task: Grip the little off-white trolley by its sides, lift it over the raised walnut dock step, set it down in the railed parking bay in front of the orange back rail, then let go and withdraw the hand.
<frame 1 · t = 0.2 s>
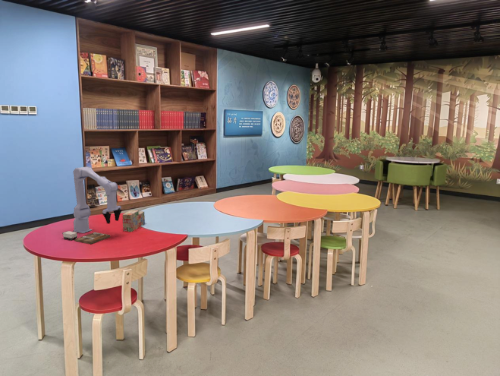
hand: (112, 222, 245), 10 cm above the table, tool pointing down, fingers open, 7 cm apart
dock: (93, 239, 241), on the table
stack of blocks: (134, 227, 269), on the table
trolley: (70, 238, 241), on the table
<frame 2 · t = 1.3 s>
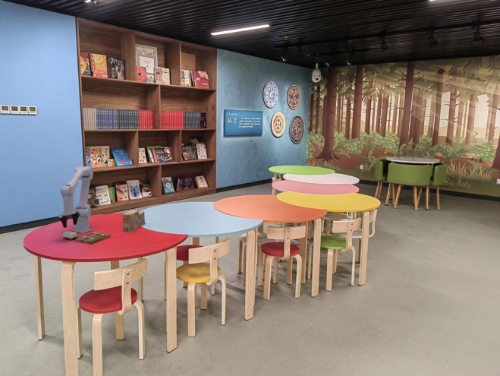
hand: (70, 226, 240), 8 cm above the table, tool pointing down, fingers open, 7 cm apart
nothing on the table moved.
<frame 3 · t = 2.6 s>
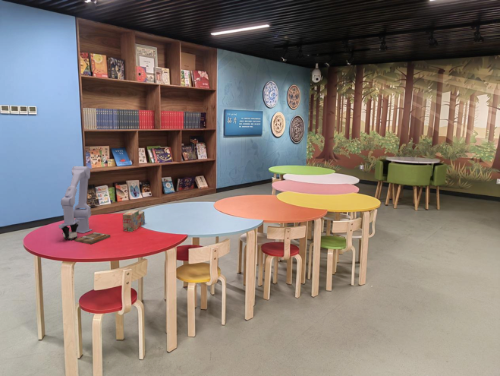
hand: (70, 236, 241), 2 cm above the table, tool pointing down, fingers closed on trolley, 4 cm apart
trolley: (70, 238, 241), on the table, touching gripper
everything else where it was.
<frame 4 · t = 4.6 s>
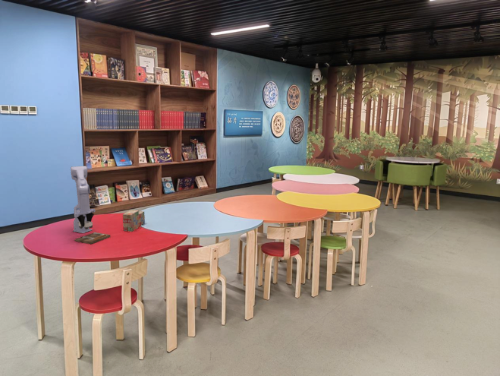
hand: (85, 225, 240), 9 cm above the table, tool pointing down, fingers closed on trolley, 4 cm apart
trolley: (85, 228, 240), point 7 cm above the table, touching gripper
everything else where it was.
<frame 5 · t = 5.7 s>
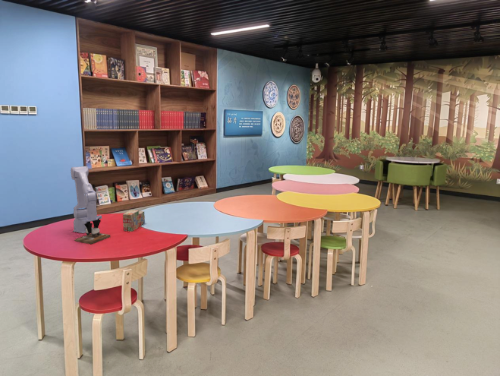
hand: (92, 232, 241), 5 cm above the table, tool pointing down, fingers closed on trolley, 4 cm apart
trolley: (92, 234, 241), point 3 cm above the table, touching gripper
everything else where it was.
when the fingers open (4 cm above the table, at t = 6.6 s): trolley stays where it is, resting on dock.
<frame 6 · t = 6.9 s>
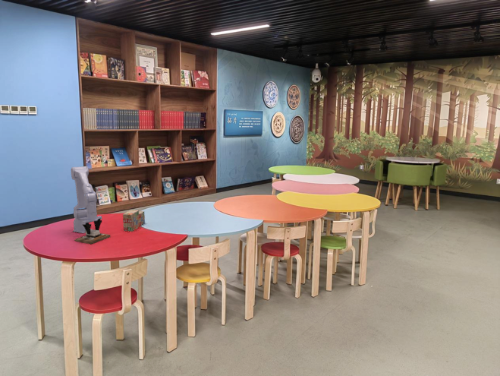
hand: (93, 232, 241), 4 cm above the table, tool pointing down, fingers open, 6 cm apart
trolley: (93, 236, 241), point 1 cm above the table, touching dock
everything else where it was.
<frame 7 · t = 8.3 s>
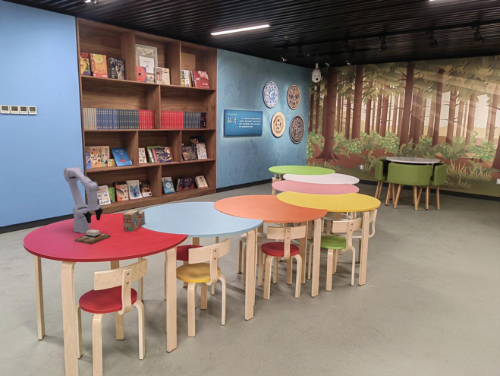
hand: (93, 221, 247), 9 cm above the table, tool pointing down, fingers open, 7 cm apart
nothing on the table moved.
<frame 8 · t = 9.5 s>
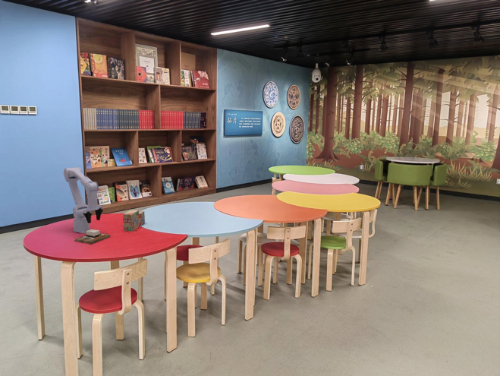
hand: (93, 221, 247), 9 cm above the table, tool pointing down, fingers open, 7 cm apart
at the end: trolley 0.2 cm off-centre on the dock, point 1.5 cm above the dock's base; trolley tilted 0°; the gripper is holding nothing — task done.
